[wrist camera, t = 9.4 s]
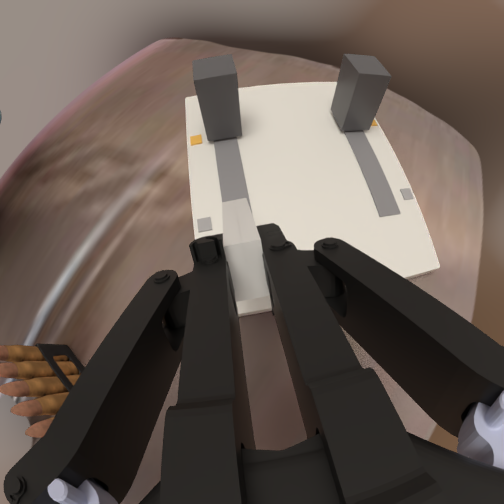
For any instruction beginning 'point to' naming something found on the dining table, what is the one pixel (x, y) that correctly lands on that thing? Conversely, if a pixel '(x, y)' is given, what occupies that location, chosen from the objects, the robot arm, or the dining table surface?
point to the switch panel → (307, 179)
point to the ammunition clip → (39, 379)
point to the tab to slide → (218, 96)
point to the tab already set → (359, 91)
